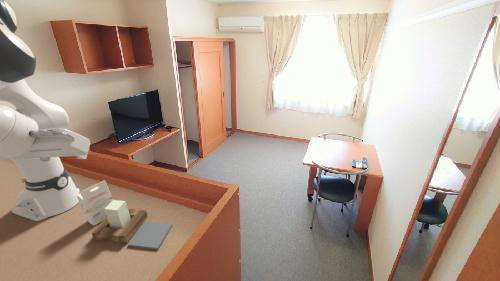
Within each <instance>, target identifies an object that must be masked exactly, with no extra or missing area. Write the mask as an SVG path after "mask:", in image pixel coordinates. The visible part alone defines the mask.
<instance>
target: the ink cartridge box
mask: <svg viewBox="0 0 500 281" xmlns="http://www.w3.org/2000/svg"><path fill="white" fill-rule="evenodd" d="M77 198H78V200H79V202H78V203H79V205H80V207H81V210H82V212H83V215H84V216H85V220H86V221H87V223H90V225H92V226H96V225H98V224H100V223H101V222H102V221H103V220H104V219H105V218H106V217H107V216H106V213H105V210H104V209H105V208H106V207H107V206H108V205H109V204H110V203H111V202H112V201H113V200H114V199H113V196H112V194H111V191H110V189H109V186H108V184H107V181H106V180H105V179H104V180H102V181H100V182H98V183H96V184H93V185H91V186H89V187H87V188H85V189H83V190H80V192H79V194H78V195H77Z"/></svg>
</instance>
